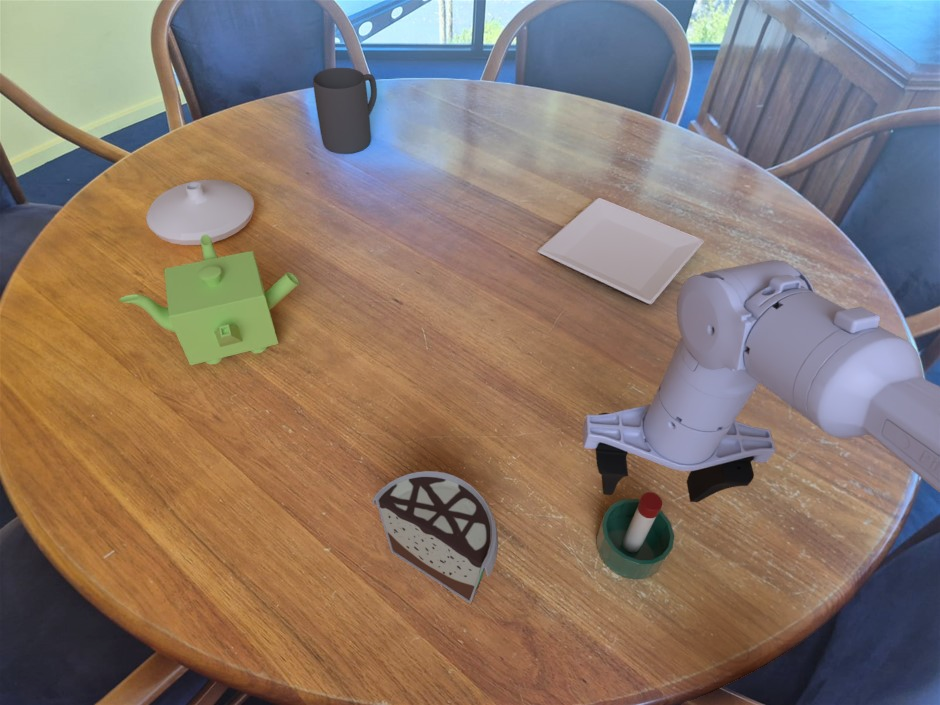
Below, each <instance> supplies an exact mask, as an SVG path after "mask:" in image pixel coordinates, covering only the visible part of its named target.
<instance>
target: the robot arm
mask: <svg viewBox="0 0 940 705" xmlns="http://www.w3.org/2000/svg"><path fill="white" fill-rule="evenodd" d="M676 320H677V322H676V323H677V327H678V330H679V334H680V339H679V341H678V343H677V346H676V348H675V350H674V352H673V354H672V356H671V359H670V361H669V362H668V365H667V368H666V369H665V371H664V374H663V377H662V379H661V381H660V383H659V385H658V387H657V390H656V392H655V394H654V396H653V399H652V401H651V403H649V404H646V405H641V406H637V407H632V408H628V409H623V410H619V411H614V412H601V413H599V414H586V416H585V419H584V421H583V425H582V445H583V449H589V450H595V459H596V467H597V470H598V474H600V475H601V486H602V495H605V496H612V495H613V494H614V493H615V491H616V488H617V486H618V484H619V482H620V481H621V480H622V479H623V478H625V477H629V471H628V462H627V457H628V453H629V454H632V455H634V456H636V457H639V458H643V459H645V460H648V461H650V462H653V463H655V464H658V465H661V466H662V467H666V468H668V469H670V470H671V469H672V470H675V471H678V472H679V471H680V472H689V473H688V476H687V480H686V486H687V492H688V496H689V502H690V503H699V502H701V501H703V500H705V499H707V498H708V497H710V496H712V495H714V494H716V493H718V492H721V491H723V490H728V489H731V488H735V487H748V486H749V485H750V484H751V482H752V481H753V480H754V477H755V473H754V469H753V464H752V461H753V462H754V463H761V464H766V463H767V462H768V461H769V460H770V459H771V457H773V455H774V454H775V452H776V451H777V450H776V446H775V442H774V439H773V435H772V432H771V429H769V428H762V427H756V426H752V425H749V424H746V423H743V422H741V421H740V422H739V421H737V420H736V419H737V418H738V416H739V415H740V414H741V412H742V410H743V409H744V407H745V406H746V404H747V403H748V401H749V399H750V398H751V397H752V395H753V394H754V392H755V391H756V389H757V388H758V386H759V385H760V384H761V386H763V387H765V388H766V389H767V390H768V391H770V392H771V393H772V394H774V395H775V396H776V397H778V399H780V400H782V401H783V402H784V403H786V404H787V405H788V406H790V407H791V408H792V409H793V410H794V411H796V412H797V413H798V414H800V415H802V416H803V417H804V418H805V419H807V420H808V421H809V422H811V423H812V424H813V425H814V426H816V427H817V428H819V429H820V430H821V431H822V432H824V434H827V435H829V436H831V437H834V438H839V439H853V438H860V437H864V436H870V437H872V438H873V439H874V440H875V441H876V442H877V443H879V444H880V445H881V446H882V447H884V448H885V449H886V450H887V451H888V452H889V453H891V454H892V455H893V456H894V457H896V459H898V460H899V461H900V462H901V463H903V464H904V465H905V466H906V467H908V469H910V470H912V471H913V472H914V473H915V474H916V475H917V476H918V477H920V478H921V479H922V480H923V481H925V482H926V483H927V484H928V485H929V486H930V487H932V488H933V489H934V490H935V491H937V492H938V493H939V494H940V385H937V384H935V383H934V382H931V381H929V380H927V379H925V377H924V373H923V367H922V363H921V359H920V356H919V353H918V351H917V349H916V348H915V346H914V345H913V344H912V343H911V342H910V341H908V340H907V339H904V338H903V337H900V336H899V335H896V334H895V333H893V332H891V331H889V330H887V329H885V328H883V327H882V326H880V325H879V324H880V321H881V317H880V315H879V314H876V313H875V312H873V311H871V310H869V309H867V308H866V307H863V306H856V307H853V308H848V309H847V308H845V307H843V306H842V305H839V304H837V303H835V302H834V301H831V300H830V299H828V298H825V297H823V296H822V295H820V294H818V293H816V290H815V288H814V285H813V284H812V281H811V280H810V279H809V278H808V276H807V275H805V273H804V272H803V271H801V270H800V269H798V268H796V267H794V266H793V265H791V264H790V263H788V262H785V261H784V260H779V259H770V260H764V261H760V262H754V263H749V264H743V265H737V266H732V267H726V268H721V269H715V270H711V271H705V272H701V273H700V274H695V275H692V276H690V277H689V278H687V279H686V280H685V281H684V282H683V284H682V286H681V287H680V289H679V292H678V294H677V300H676Z"/></svg>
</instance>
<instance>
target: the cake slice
mask: <svg viewBox="0 0 940 705" xmlns="http://www.w3.org/2000/svg"><path fill="white" fill-rule="evenodd" d="M375 504H376V507H377V510H378V513H379V517H380V520H381V523H382V527H383V530H384V533H385V536H386V537H385V538H386V540H387V543H388V547H389V549H390V550H389V551H390V553H391V554H393V555H394V556H396V557H398V558H399V559H401V560H402V561H403V562H405V563H407V564H408V565H410V566H411V567H413V568H414V569H416V570H418V571H419V572H420V573H422V574H424V575H425V576H427V577H428V578H429V579H431V580H433V581H434V582H436V583H438V584H439V585H441V586H442V587H443V588H445V589H447V590H448V591H450V592H451V593H453V594H454V595H456V596H458V597H459V598H460V599H461V600H463V601H465V602H467V603H468V604H469V605H471V604H472V603H473V601H474V599H475V597H476V595H477V593H478V589H479V587H480V584H481V581H482V578H483V575H484V572H485V575H486V577H488V578H489V577H490V575H491V573H492V571H493V570H494V567H495V564H496V561H497V557H498V552H499V533H498V528H497V524H496V521H495V517H494V515H493V512H492V509H491V508H490V506H489V503H488V502H487V501H486V499H485V498H484V497H483V496H482V494H481V493H480V492H479V491H478V490H477V489H476V488H474V487H473V486H472V485H471V484H469V483H468V482H467V481H465V480H464V479H462V478H460V477H457V476H455V475H452V474H449V473H446V472H441V471H435V470H433V471H432V470H431V471H430V470H424V471H416V472H412V473H408V474H404V475H402V476H399V477H397V478H395V479H393V480H392V481H390V482H388V483H387V484H386V485H384V486H383V487H382V488H380V489H379V490H378V491H377V493H376V494H375V495H374V496H373V497H372V502H371V505H372V506H374V505H375Z"/></svg>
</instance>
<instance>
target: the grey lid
mask: <svg viewBox="0 0 940 705" xmlns="http://www.w3.org/2000/svg"><path fill="white" fill-rule="evenodd" d="M254 208H255V202H254V197H253V196H252V195H251V193H250V192H249V191H248V190H246V189H245V188H243V187H242V186H240V185H238V184H236V183H234V182H230V181H228V180H222V179H221V180H220V179H200V180H194V181H189V182H186V183H182V184H179V185H176V186H173V187H171V188H169V189H167V190H166V191H164V192H162V193H161V194H160V195H158V196H157V197H156V198H155V199H154V200H153V201H152V203H151V205H150V207H149V209H148V211H147V212H146V219H145V221H146V224H147V226H148V228H149V229H150V230H151V232H153V234H155V235H156V236H157V237H158V238H159V239H161V240H162V241H165V242H168V243H170V244H174V245H180V246H201V237H202V236H203V235H208V236H209V237H210V238H211V241H212V244H214V243H216V242H219V241H222V240H226V239H227V238H230V237H232V236H233V235H236V234H237V233H239V232H240V231H241V230H243V229H244V228H245V227H246V226H247V225H248V224H249V222H250V221H251V220H252V218H253V214H254V210H255V209H254Z"/></svg>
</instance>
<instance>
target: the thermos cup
mask: <svg viewBox="0 0 940 705" xmlns="http://www.w3.org/2000/svg"><path fill="white" fill-rule="evenodd" d="M639 502H640V499H639V498H623V499H621V500H618V501H616V502H614V503H612V504H611V505H610V506H609V507H608V509H606V511H605V512H604V515H603V518H602V519H601V522H600V525H599V528H598V532H597V535H596V548H597V553H598V554H599V557H600V559H601V560H602V562H603V563H604V565H606V566H607V568H608V569H610V570H611V571H612V573H615V574H616V575H618V576H620V577H622V578H624V579H625V578H626V579H629V580H644V579H648V578H650V577H653V576H654V575H656V574H657V573H658V572H659V571H660V569H661V568H662V567H663V565H664V564H665V562H666V561H667V559H668V557H669V556H670V555H671V552H672V550H673V549H674V542H675V538H676V537H675V533H674V530H673V525H672V522H671V521H670V519H669V518H668V517H667V516H666V515H665V512H663V511H662V510H661V509H660V511H659V513H658V515H657V516H656V518H655V520H654V522H653V524H652V526H651V528H650V530H649V532H648V534H647V536H646V538H645V540H644V542H643V544H642V546H641V548H640V550H639V551H637V552H629V551H627V550H626V549H625V548H624V546H623V539H624V537H625V534H626V532H627V530H628V528H629V525H630V523H631V521H632V519H633V516H634V514H635V512H636V510H637V507H638V504H639Z"/></svg>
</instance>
